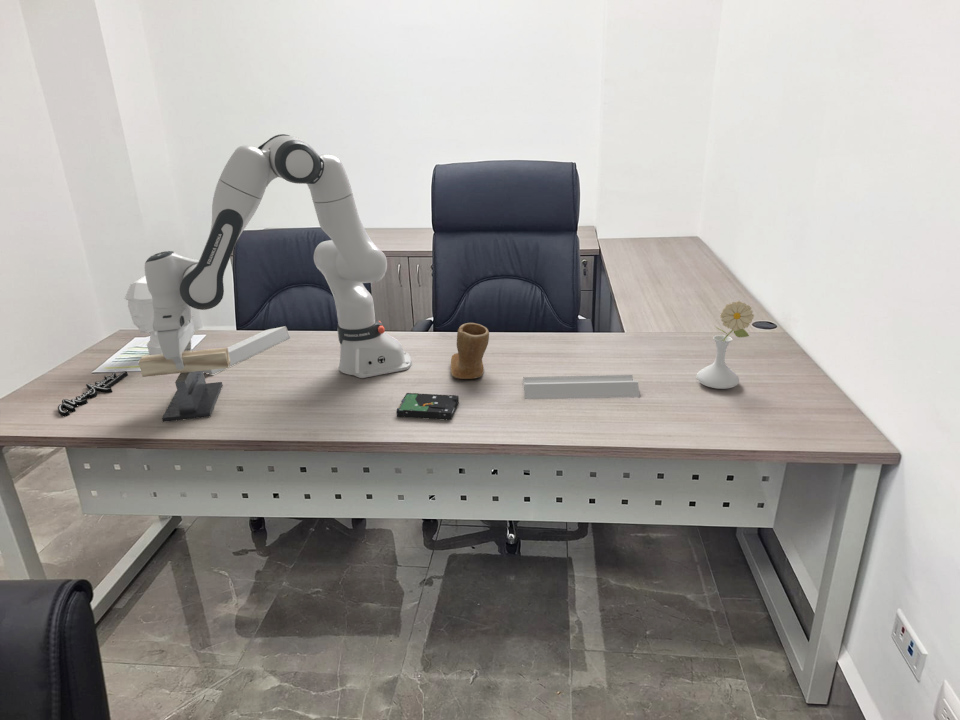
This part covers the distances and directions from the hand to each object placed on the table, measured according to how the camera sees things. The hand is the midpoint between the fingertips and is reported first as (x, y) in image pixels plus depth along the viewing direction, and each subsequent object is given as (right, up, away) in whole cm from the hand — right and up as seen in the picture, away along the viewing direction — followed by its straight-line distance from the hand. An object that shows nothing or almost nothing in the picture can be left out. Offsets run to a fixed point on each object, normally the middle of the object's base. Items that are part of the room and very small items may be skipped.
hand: (184, 361), depth 172 cm
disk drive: (+67, -13, -3) cm, 68 cm away
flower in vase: (+148, -7, +5) cm, 148 cm away
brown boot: (+78, -3, +19) cm, 80 cm away
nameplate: (-33, -10, +13) cm, 36 cm away
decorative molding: (+1, +2, +38) cm, 39 cm away
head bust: (-24, +2, +38) cm, 45 cm away
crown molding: (+109, -8, +6) cm, 109 cm away
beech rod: (0, -2, +1) cm, 2 cm away
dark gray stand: (0, -12, +5) cm, 13 cm away
